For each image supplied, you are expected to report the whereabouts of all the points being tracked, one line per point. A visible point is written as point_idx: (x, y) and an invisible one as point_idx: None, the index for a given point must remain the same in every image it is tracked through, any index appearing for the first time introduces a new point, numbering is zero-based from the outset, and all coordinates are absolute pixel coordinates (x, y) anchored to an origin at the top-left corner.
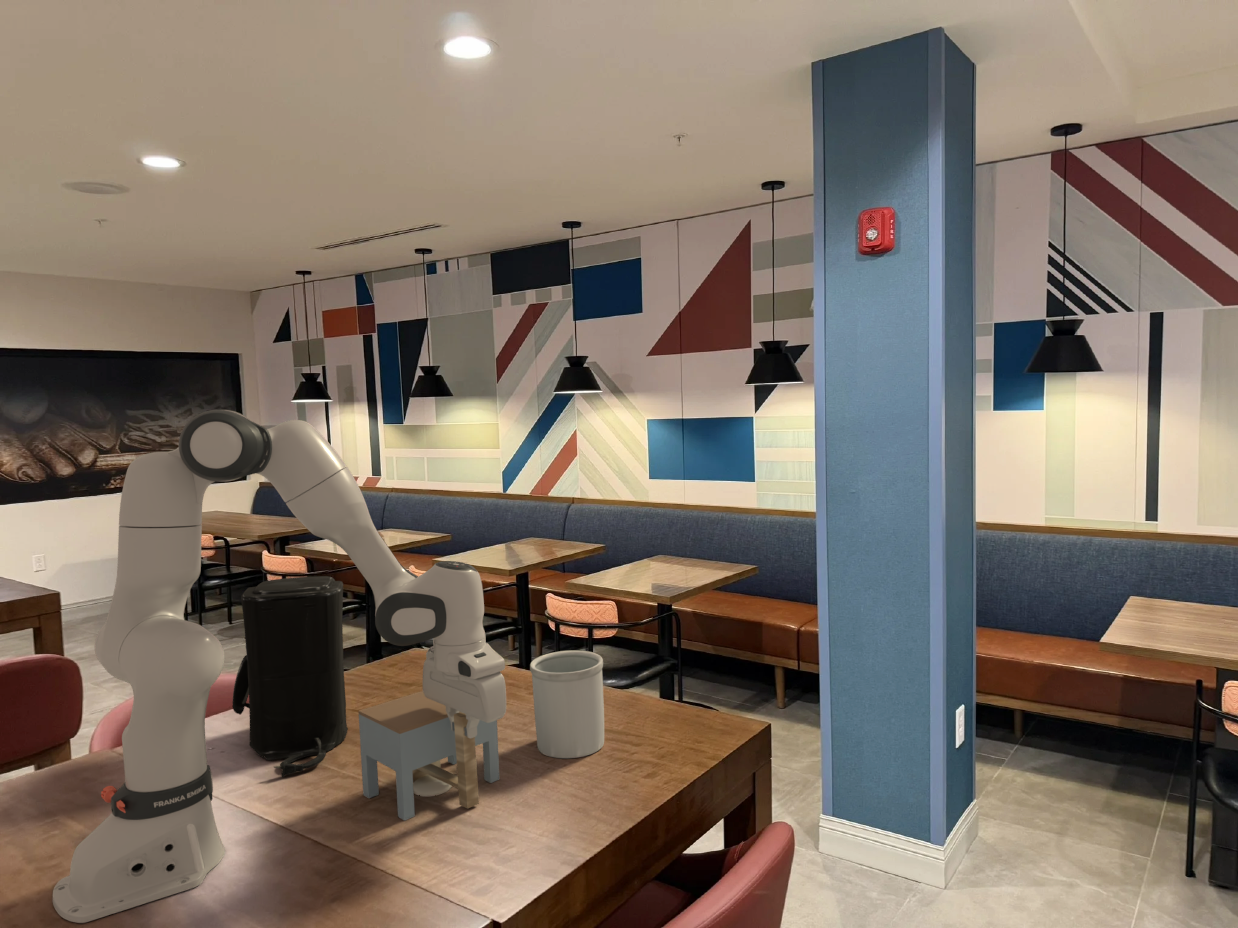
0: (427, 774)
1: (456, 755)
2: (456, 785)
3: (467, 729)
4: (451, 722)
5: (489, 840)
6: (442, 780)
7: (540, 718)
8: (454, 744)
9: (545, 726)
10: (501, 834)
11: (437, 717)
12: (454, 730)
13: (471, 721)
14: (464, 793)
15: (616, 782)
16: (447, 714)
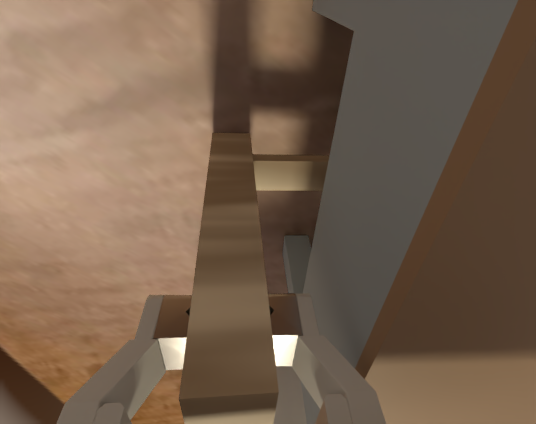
0: None
1: (257, 214)
2: (267, 158)
3: (142, 333)
4: (309, 330)
5: (21, 68)
6: None
7: (301, 403)
8: (322, 252)
9: (285, 390)
10: (37, 110)
11: (392, 324)
12: (278, 297)
13: (74, 399)
14: (221, 149)
15: (110, 341)
16: (352, 367)
